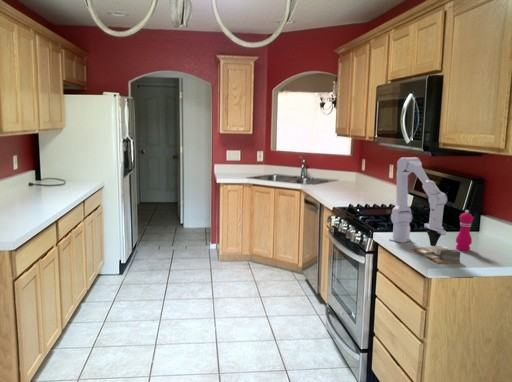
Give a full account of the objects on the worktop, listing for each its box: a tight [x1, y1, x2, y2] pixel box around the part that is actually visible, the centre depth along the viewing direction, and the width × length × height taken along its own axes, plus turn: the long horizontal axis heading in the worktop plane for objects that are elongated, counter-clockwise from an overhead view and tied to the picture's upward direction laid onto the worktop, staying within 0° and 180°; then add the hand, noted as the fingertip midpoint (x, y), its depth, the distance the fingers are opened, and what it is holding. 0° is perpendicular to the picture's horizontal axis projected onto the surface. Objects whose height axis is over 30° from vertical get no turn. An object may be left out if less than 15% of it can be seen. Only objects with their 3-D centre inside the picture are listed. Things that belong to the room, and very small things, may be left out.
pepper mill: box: [455, 209, 474, 252], centre depth 220 cm, size 7×7×20 cm
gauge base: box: [411, 246, 461, 264], centre depth 209 cm, size 21×12×5 cm, turn 12°
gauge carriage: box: [426, 245, 449, 255], centre depth 208 cm, size 4×10×3 cm, turn 102°
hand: (433, 245), depth 214 cm, fingers closed
